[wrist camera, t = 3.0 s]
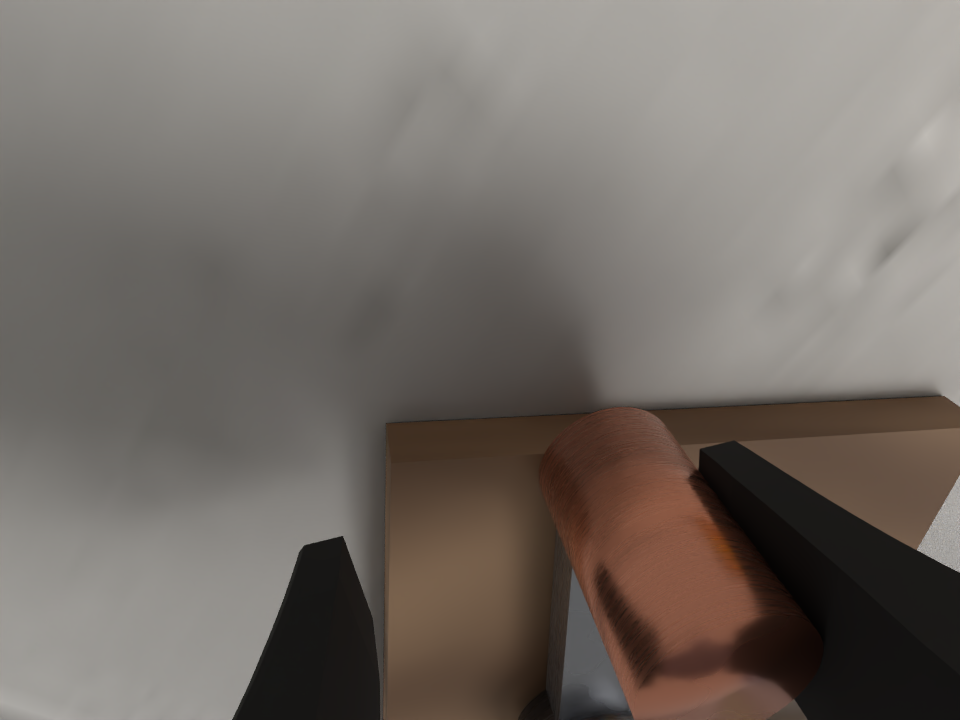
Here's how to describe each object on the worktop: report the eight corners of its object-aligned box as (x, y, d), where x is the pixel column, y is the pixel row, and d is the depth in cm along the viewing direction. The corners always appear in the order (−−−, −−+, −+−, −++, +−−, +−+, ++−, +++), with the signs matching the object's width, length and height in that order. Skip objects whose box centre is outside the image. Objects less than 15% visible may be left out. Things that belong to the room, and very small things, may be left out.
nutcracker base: (757, 754, 23) (818, 867, 20) (381, 820, 20) (390, 962, 17) (944, 396, 15) (1086, 494, 12) (386, 423, 13) (402, 556, 10)
